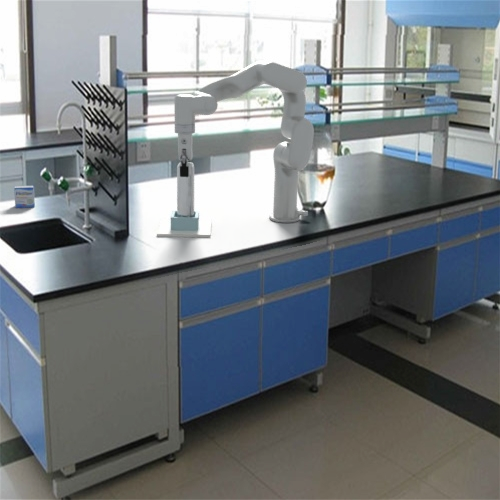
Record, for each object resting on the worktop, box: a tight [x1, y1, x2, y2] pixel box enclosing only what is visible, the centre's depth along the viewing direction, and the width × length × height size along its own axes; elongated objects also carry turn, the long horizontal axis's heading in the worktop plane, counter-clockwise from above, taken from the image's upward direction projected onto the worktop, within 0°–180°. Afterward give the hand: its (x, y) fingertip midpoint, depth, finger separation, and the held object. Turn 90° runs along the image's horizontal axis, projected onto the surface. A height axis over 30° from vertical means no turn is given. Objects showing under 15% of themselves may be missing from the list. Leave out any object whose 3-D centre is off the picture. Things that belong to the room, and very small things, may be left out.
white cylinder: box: [176, 161, 195, 217], centre depth 276 cm, size 6×6×25 cm
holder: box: [156, 210, 212, 238], centre depth 279 cm, size 20×20×6 cm
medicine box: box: [13, 185, 36, 209], centre depth 304 cm, size 8×4×9 cm, turn 105°
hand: (184, 173), depth 273 cm, fingers open, 9 cm apart
